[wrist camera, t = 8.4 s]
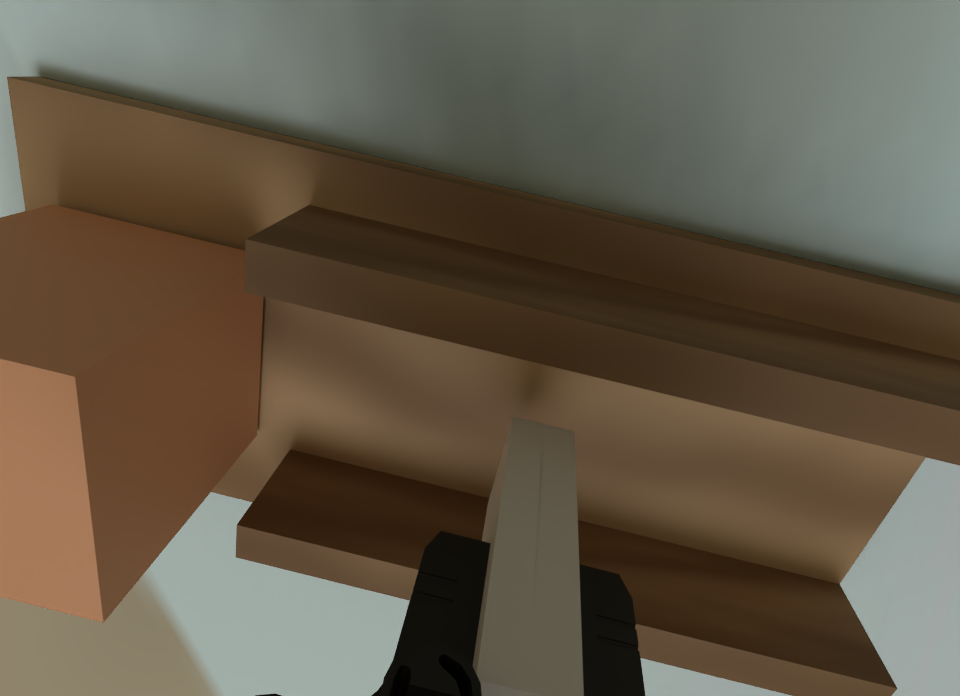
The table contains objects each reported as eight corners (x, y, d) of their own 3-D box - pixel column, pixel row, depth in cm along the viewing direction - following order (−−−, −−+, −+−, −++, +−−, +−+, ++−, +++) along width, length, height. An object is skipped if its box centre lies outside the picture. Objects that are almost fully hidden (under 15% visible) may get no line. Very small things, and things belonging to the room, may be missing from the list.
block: (52, 204, 16) (-277, 290, 10) (265, 255, 16) (75, 376, 10) (74, 389, 19) (-173, 553, 12) (257, 435, 18) (103, 622, 12)
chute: (38, 76, 16) (-142, 78, 12) (993, 303, 15) (1150, 387, 11) (80, 437, 21) (-33, 525, 17) (791, 613, 21) (849, 745, 17)
